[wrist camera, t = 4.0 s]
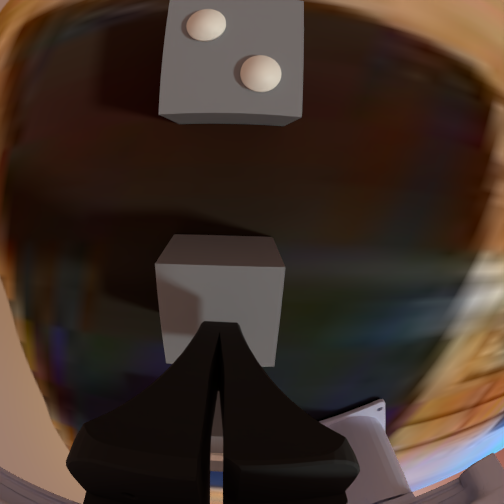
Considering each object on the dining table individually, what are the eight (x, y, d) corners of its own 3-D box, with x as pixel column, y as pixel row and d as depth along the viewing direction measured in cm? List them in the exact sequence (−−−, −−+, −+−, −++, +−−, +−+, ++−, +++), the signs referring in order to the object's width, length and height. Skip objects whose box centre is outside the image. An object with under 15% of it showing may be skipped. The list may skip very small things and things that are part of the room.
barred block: (254, 431, 20) (258, 473, 16) (192, 428, 20) (187, 471, 16) (261, 392, 19) (266, 439, 15) (188, 388, 18) (181, 436, 14)
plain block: (265, 320, 17) (274, 366, 13) (178, 318, 16) (166, 363, 13) (272, 237, 15) (285, 267, 11) (174, 234, 15) (155, 263, 11)
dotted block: (283, 126, 13) (302, 116, 9) (179, 123, 13) (156, 113, 9) (286, 35, 12) (304, -1, 8) (185, 33, 11) (169, -4, 7)
